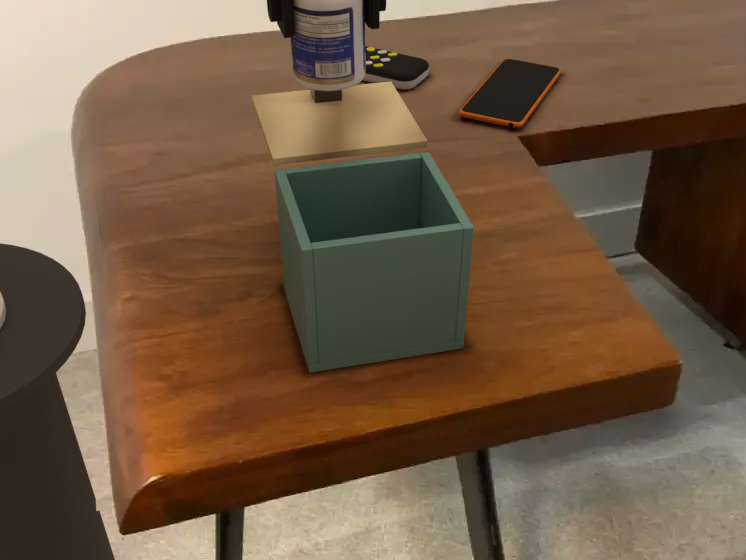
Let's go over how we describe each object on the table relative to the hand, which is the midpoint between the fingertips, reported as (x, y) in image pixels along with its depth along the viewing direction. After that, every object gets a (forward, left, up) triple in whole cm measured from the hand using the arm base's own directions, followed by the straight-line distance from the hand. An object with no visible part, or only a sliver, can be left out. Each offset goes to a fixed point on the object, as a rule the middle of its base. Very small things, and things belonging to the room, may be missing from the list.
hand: (327, 23), depth 64 cm
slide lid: (+2, +7, -11) cm, 13 cm away
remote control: (+14, +42, -23) cm, 50 cm away
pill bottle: (0, 0, -4) cm, 4 cm away
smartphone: (+28, +32, -23) cm, 48 cm away
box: (+2, -5, -22) cm, 23 cm away
